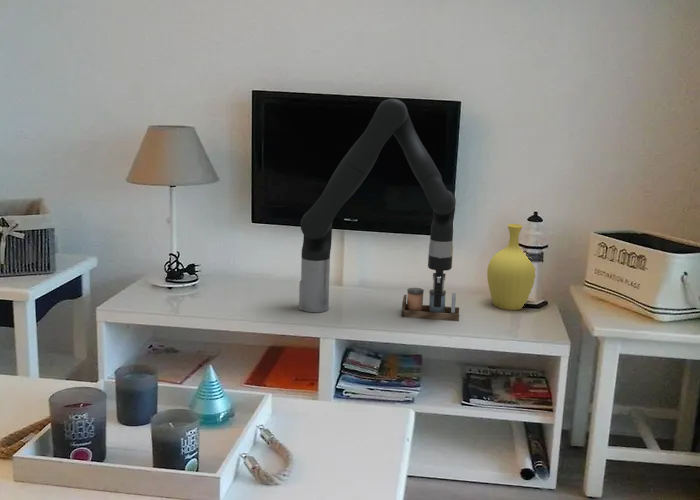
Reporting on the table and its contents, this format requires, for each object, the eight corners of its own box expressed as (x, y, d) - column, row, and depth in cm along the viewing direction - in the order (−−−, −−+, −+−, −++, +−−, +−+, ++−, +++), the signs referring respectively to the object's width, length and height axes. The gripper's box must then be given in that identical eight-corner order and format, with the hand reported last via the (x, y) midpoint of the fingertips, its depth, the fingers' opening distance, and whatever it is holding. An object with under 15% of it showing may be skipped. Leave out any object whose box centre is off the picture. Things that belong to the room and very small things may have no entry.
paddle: (450, 318, 248) (451, 297, 246) (450, 313, 253) (452, 292, 252) (454, 318, 247) (455, 298, 246) (454, 313, 253) (455, 293, 252)
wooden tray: (401, 319, 249) (402, 301, 247) (403, 312, 257) (404, 294, 255) (458, 323, 246) (459, 305, 245) (458, 316, 254) (459, 298, 253)
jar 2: (428, 317, 249) (428, 292, 247) (429, 312, 254) (430, 288, 252) (444, 318, 248) (445, 293, 246) (445, 313, 253) (446, 289, 251)
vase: (485, 310, 262) (491, 228, 256) (484, 297, 277) (489, 219, 271) (534, 313, 260) (542, 231, 254) (530, 300, 275) (537, 222, 269)
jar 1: (405, 315, 250) (406, 291, 248) (406, 310, 255) (407, 287, 253) (422, 316, 249) (423, 292, 247) (422, 312, 254) (424, 288, 252)
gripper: (429, 248, 254) (426, 296, 258) (427, 258, 240) (424, 308, 244) (452, 249, 253) (449, 298, 257) (452, 259, 239) (449, 310, 243)
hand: (437, 303), depth 250 cm, fingers open, 8 cm apart
